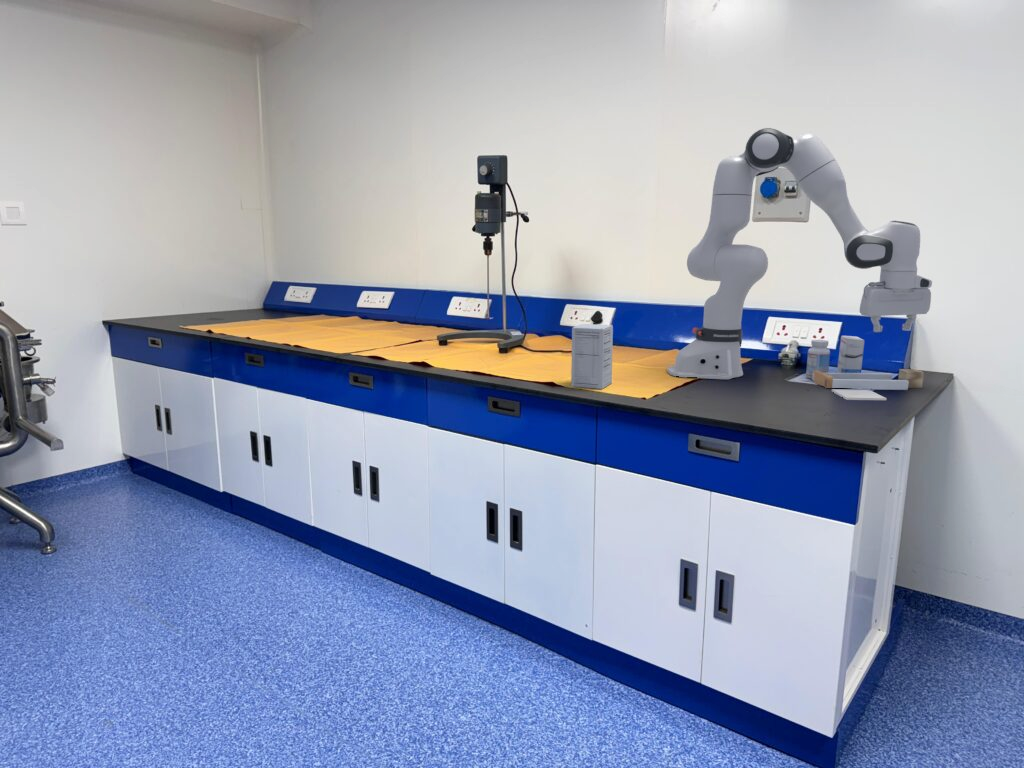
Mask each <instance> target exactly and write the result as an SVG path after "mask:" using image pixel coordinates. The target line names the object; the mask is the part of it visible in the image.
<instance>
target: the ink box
mask: <svg viewBox="0 0 1024 768" xmlns="http://www.w3.org/2000/svg"><path fill="white" fill-rule="evenodd" d="M864 348H865V339H862V338H861V337H859V336H856V335H855V336H854V335H853V336H852V335H841V336H840V345H839V354H838V360H837V370H836V373H862V366H863V357H864Z"/></svg>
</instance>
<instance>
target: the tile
mask: <svg viewBox="0 0 1024 768" xmlns="http://www.w3.org/2000/svg"><path fill="white" fill-rule="evenodd" d="M831 392H832V393H833V392H834V394H835V395H837V396H839V397H841V398H842V397H843V399H844V400H846V401H887V397H885V396H883V395H880V394H878V393H877V392H874V391H872V389H831Z"/></svg>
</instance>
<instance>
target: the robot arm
mask: <svg viewBox="0 0 1024 768" xmlns="http://www.w3.org/2000/svg"><path fill="white" fill-rule="evenodd" d="M779 167H781V168H786V169H787V170H788V171H789V172H790V173H791V174H792V176H793V177H794V179H795V180H796V182H797V184H798V186H799V187H800V190H802V192H803V193H804V194H805V195H806V197H807V198H809V200H810V201H811V202H812V203H813V204H814V205H815V206H817V207H818V208H819V209H821V210H822V211H823V212H824V213H825V214H826V215H827V216H828V217H829V219H830V221H831V222H832V224H833V225H834V227H835V229H836V230H837V233H838V234H839V235H840V237H841V240H842V242H843V249H844V251H843V252H844V256H845V260H846V261H847V263H848V264H850V265H851V267H854V268H857V269H860V270H867V269H871V268H875V267H880V274H879V275H880V276H879V281H876V282H874V281H871V282H868V284H866V285H865V286H864V287H863V293H862V297H861V299H860V305H859V313H860V315H861V316H864V317H870V321H871V323H872V325H873V330H872V331H873V332H874V333H882V332H883V328H884V326H883V325H881V324H880V321H881V317H887V316H905V315H906V316H905V317H906V321H905V323H902V326H901V329H902V331H904V332H906V331H909V332H910V331H911V330H912V326H913V324H914V323H915V321H916V319H917V316H918V315H926V314H928V312H929V311H930V308H931V301H932V293H931V290H930V288H931V287H932V285H933V281H932V280H931V279H929V278H927V277H923V276H921V275H918V265H917V262H918V261H917V260H918V258H919V256H920V251H921V250H920V249H921V230H920V228H919V227H918V225H916V224H915V223H912V222H907V221H899V220H890V221H889V222H887V223H886V224H883V225H882V226H880V227H879V228H876V229H874V230H870V231H869V230H867V229H866V228H865V226H864V225H863V224H862V222H861V221H860V219H859V217H858V215H857V213H856V212H855V210H854V208H853V206H852V205H851V203H850V200H849V197H848V190H847V182H846V179H845V175H844V174H843V172H842V169H841V166H840V164H839V163H838V161H837V160H836V158H835V157H834V155H833V154H832V152H831V150H830V149H829V148H828V147H827V145H826V144H825V143H824V142H823V140H822V139H820V137H818V135H816V134H814V133H811V132H810V133H809V132H808V133H806V132H805V133H802V134H799V135H798V136H796V137H794V138H793V137H792V136H790V135H788V134H786V133H784V132H782V131H780V130H778V129H776V128H771V127H764V128H762V129H761V128H760V129H758V130H757V131H754V133H752V134H751V136H750V137H749V138H748V140H747V141H746V144H745V150H744V151H743V153H741V154H740V155H733V156H728V157H725V158H723V159H722V160H721V161H720V162H719V163H718V166H717V169H716V172H715V175H714V176H715V177H714V182H713V186H712V187H713V188H712V196H711V206H710V215H709V221H708V225H707V228H706V231H705V233H704V235H703V236H702V238H701V239H700V241H699V242H698V244H697V245H695V246H694V247H693V248H692V249H691V250H690V252H689V253H688V256H687V260H686V266H687V267H686V268H687V270H688V272H689V274H690V275H691V277H694V278H697V279H698V280H699V279H700V280H702V281H711V282H712V281H713V282H719V287H718V289H717V291H716V292H715V294H713V295H711V296H709V297H708V298H707V299H706V300H705V303H704V307H703V319H702V321H703V322H702V327H693V328H692V330H691V332H692V334H694V335H695V339H694V340H693V341H691V342H690V343H689V344H687V345H686V346H684V347H683V348H681V349H680V350H679V351H678V352H677V355H676V358H675V361H674V365H669V366H668V367H667V373H668V374H669V375H670V376H672V377H673V376H674V377H676V376H679V377H678V378H687V377H697V378H696V379H709V380H732V379H733V378H739V377H742V376H743V375H744V371H743V368H742V367H743V366H742V360H741V347H742V344H743V329H742V321H743V320H742V319H743V312H744V311H743V310H744V304H745V300H746V297H747V295H748V293H749V292H750V290H751V289H752V287H753V286H754V285H755V284H756V283H757V282H759V281H760V280H761V279H763V277H764V276H765V274H766V272H767V270H768V267H769V259H768V255H767V253H766V252H765V250H764V249H762V248H761V247H758V246H754V245H751V244H750V245H749V244H733V242H734V239H735V237H736V235H738V233H739V232H740V231H741V230H743V229H745V228H746V227H747V226H748V224H750V223H749V222H750V220H751V219H750V218H751V208H752V207H751V206H752V196H753V185H754V181H755V179H756V177H758V176H761V175H765V174H769V173H772V172H774V171H775V170H777V169H778V168H779Z"/></svg>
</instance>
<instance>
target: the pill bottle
mask: <svg viewBox="0 0 1024 768" xmlns="http://www.w3.org/2000/svg"><path fill="white" fill-rule="evenodd" d="M810 343H811V344H810V345H811V347H810V348H809V349H808V350H807V359H806V371H805V372H806V373H805V375H806V376H805V377H807V378H808V379H810V378H812V374H813V370H819V371H821V372H826V373H829V370H830V369H829V368H830V367H829V366H830V358H831V351H830V349H829V348H828V346H829V340H826V339H812V340H811V342H810Z"/></svg>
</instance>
